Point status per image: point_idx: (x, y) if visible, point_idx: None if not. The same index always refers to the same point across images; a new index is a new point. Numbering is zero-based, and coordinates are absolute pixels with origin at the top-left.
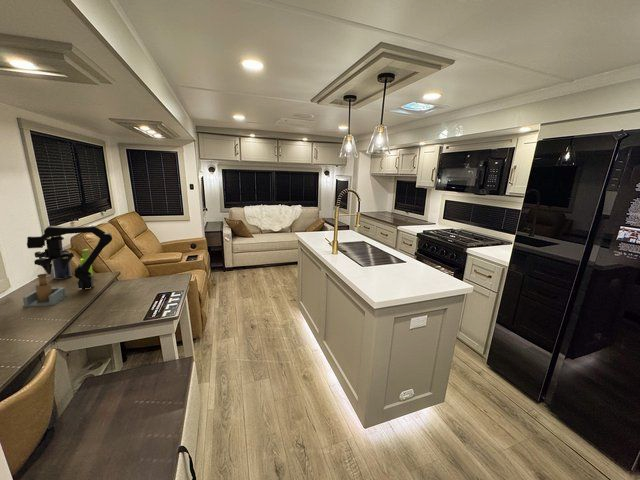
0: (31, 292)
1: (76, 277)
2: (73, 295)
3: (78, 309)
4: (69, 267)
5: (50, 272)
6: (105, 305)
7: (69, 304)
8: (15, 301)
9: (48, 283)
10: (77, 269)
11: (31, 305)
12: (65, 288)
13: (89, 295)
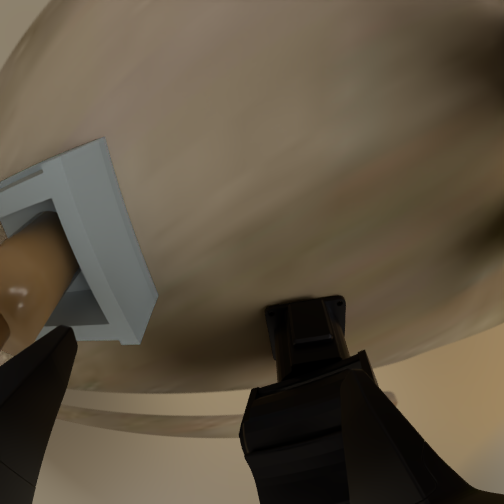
0: (2, 191)
1: (255, 403)
2: (173, 323)
3: None
4: None
5: (60, 380)
6: (116, 428)
7: (78, 352)
8: (43, 58)
9: (23, 334)
10: (259, 485)
11: (3, 223)
12: (141, 337)
13: (186, 380)
